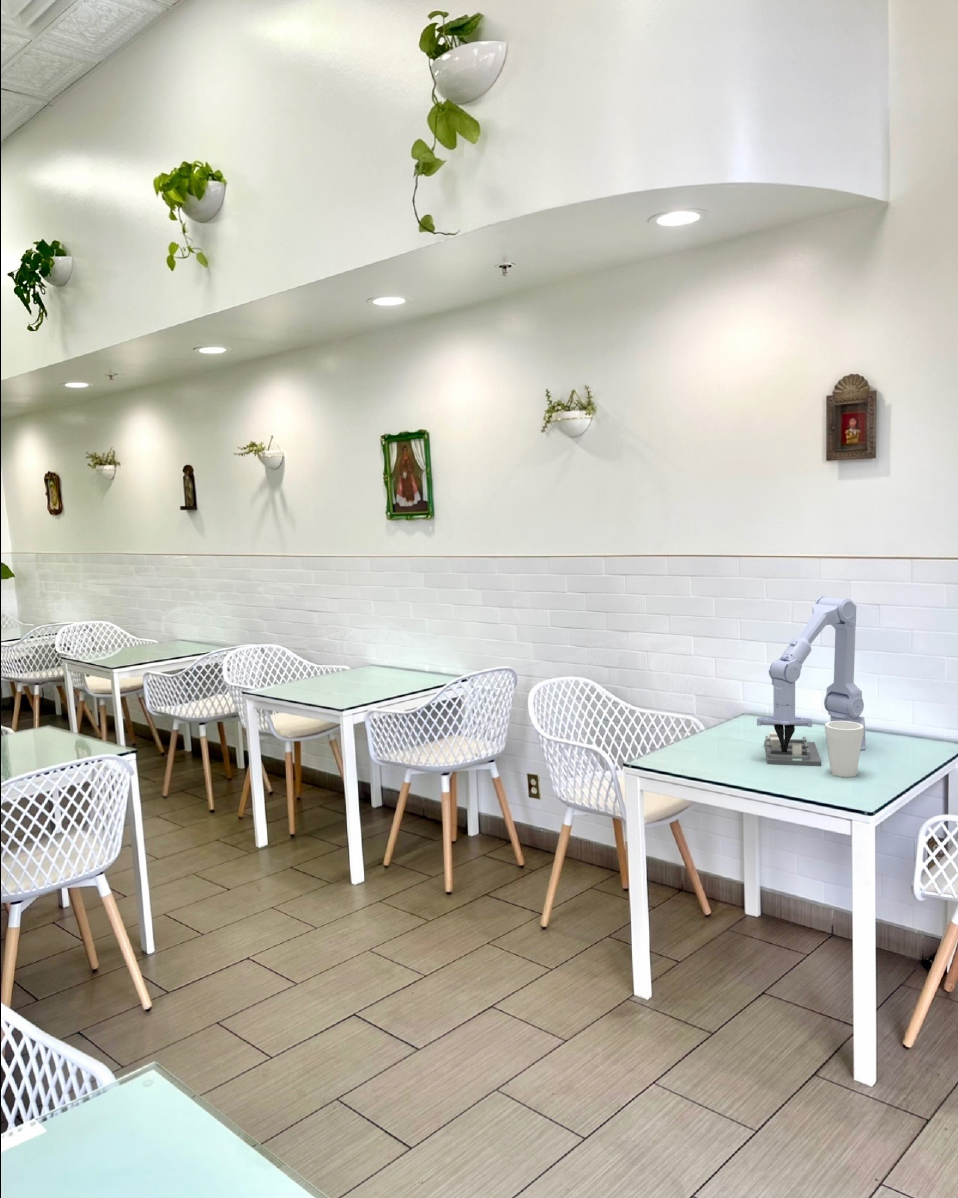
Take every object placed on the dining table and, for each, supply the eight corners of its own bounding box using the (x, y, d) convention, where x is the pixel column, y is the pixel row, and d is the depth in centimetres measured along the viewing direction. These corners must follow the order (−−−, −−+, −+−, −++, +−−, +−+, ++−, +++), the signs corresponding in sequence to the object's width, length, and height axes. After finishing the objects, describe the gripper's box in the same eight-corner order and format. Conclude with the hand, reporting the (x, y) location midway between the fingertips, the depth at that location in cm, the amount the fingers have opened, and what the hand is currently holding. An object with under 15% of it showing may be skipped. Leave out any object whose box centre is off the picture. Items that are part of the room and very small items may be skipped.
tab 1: (778, 742, 275) (778, 731, 275) (778, 745, 272) (778, 734, 272) (769, 742, 276) (769, 731, 276) (769, 745, 273) (769, 734, 273)
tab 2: (779, 748, 270) (779, 737, 269) (779, 751, 267) (779, 740, 266) (770, 747, 270) (770, 737, 270) (770, 750, 267) (770, 739, 267)
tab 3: (800, 754, 262) (800, 743, 262) (801, 757, 260) (801, 746, 259) (791, 754, 263) (791, 743, 263) (792, 757, 260) (792, 746, 260)
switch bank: (814, 746, 275) (814, 735, 275) (821, 766, 256) (821, 754, 256) (764, 744, 279) (764, 734, 278) (767, 764, 260) (767, 752, 259)
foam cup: (865, 779, 243) (865, 730, 242) (827, 778, 246) (827, 729, 244) (859, 768, 253) (860, 721, 251) (822, 767, 255) (823, 720, 253)
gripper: (757, 706, 258) (757, 754, 260) (813, 707, 255) (813, 756, 256) (756, 700, 265) (756, 747, 267) (811, 701, 262) (810, 749, 263)
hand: (784, 751), depth 262 cm, fingers closed
